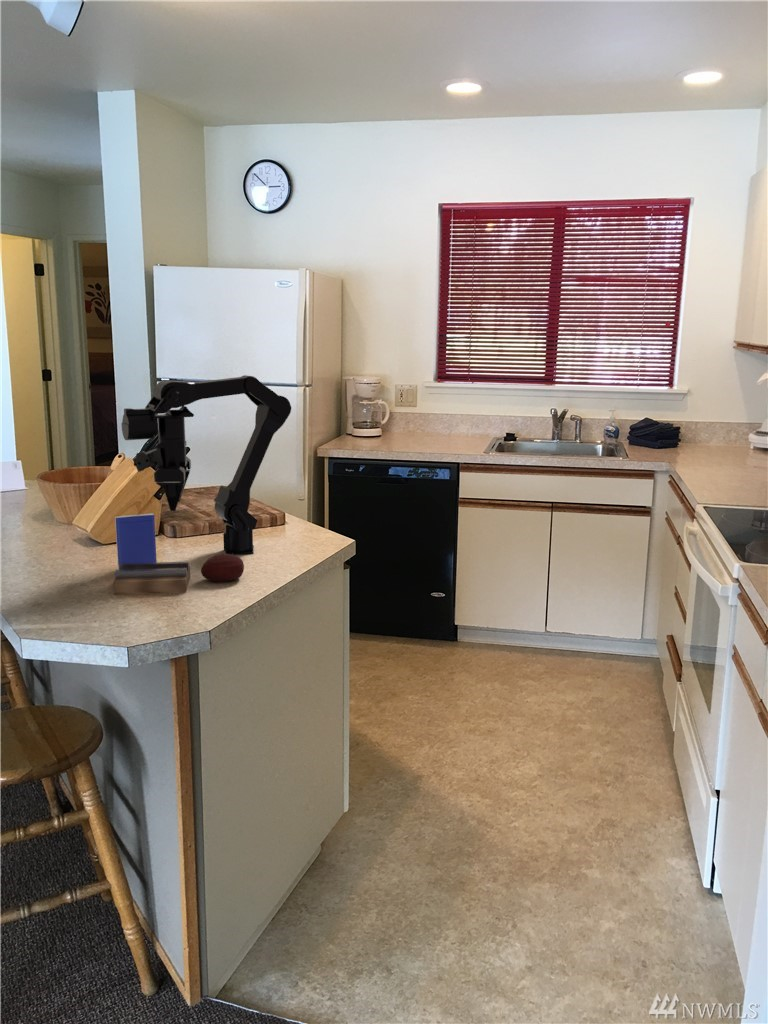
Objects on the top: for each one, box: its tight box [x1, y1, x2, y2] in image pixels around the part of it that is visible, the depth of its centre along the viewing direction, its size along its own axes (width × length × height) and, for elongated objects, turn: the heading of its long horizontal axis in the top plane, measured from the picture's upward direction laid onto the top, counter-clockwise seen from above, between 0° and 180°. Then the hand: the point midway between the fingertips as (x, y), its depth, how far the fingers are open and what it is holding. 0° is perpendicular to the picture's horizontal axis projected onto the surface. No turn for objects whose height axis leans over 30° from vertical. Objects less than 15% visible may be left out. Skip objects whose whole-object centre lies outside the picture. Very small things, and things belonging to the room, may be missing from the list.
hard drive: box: [114, 513, 158, 570], centre depth 175 cm, size 2×8×12 cm, turn 117°
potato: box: [200, 553, 245, 583], centre depth 169 cm, size 8×9×6 cm
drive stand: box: [113, 561, 191, 596], centre depth 164 cm, size 14×10×4 cm
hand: (175, 506), depth 181 cm, fingers open, 9 cm apart
